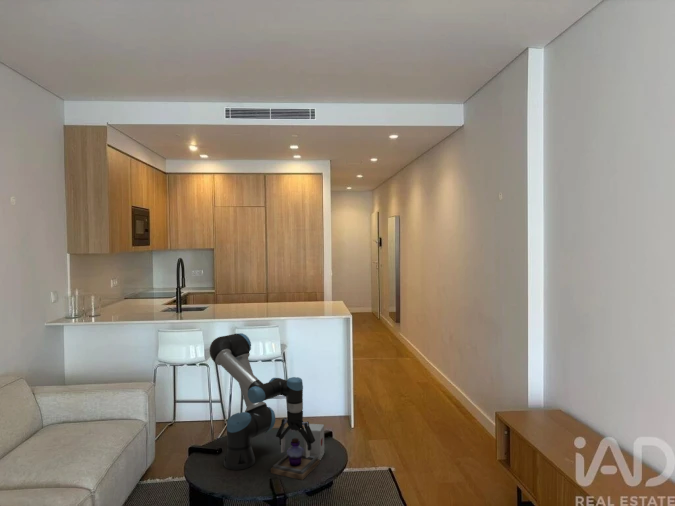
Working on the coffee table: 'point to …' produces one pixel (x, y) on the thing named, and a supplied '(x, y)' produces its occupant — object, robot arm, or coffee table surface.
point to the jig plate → (295, 467)
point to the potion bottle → (295, 452)
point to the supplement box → (316, 441)
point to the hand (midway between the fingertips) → (295, 454)
